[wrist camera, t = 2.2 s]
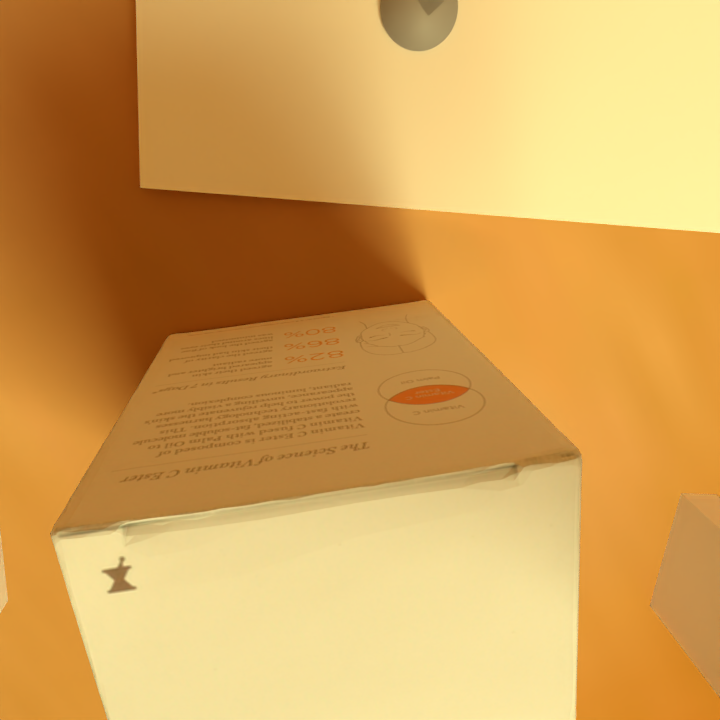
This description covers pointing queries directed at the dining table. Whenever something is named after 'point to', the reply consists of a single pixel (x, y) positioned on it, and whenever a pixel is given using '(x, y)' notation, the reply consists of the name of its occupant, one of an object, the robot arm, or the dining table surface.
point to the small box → (328, 531)
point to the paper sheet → (439, 105)
